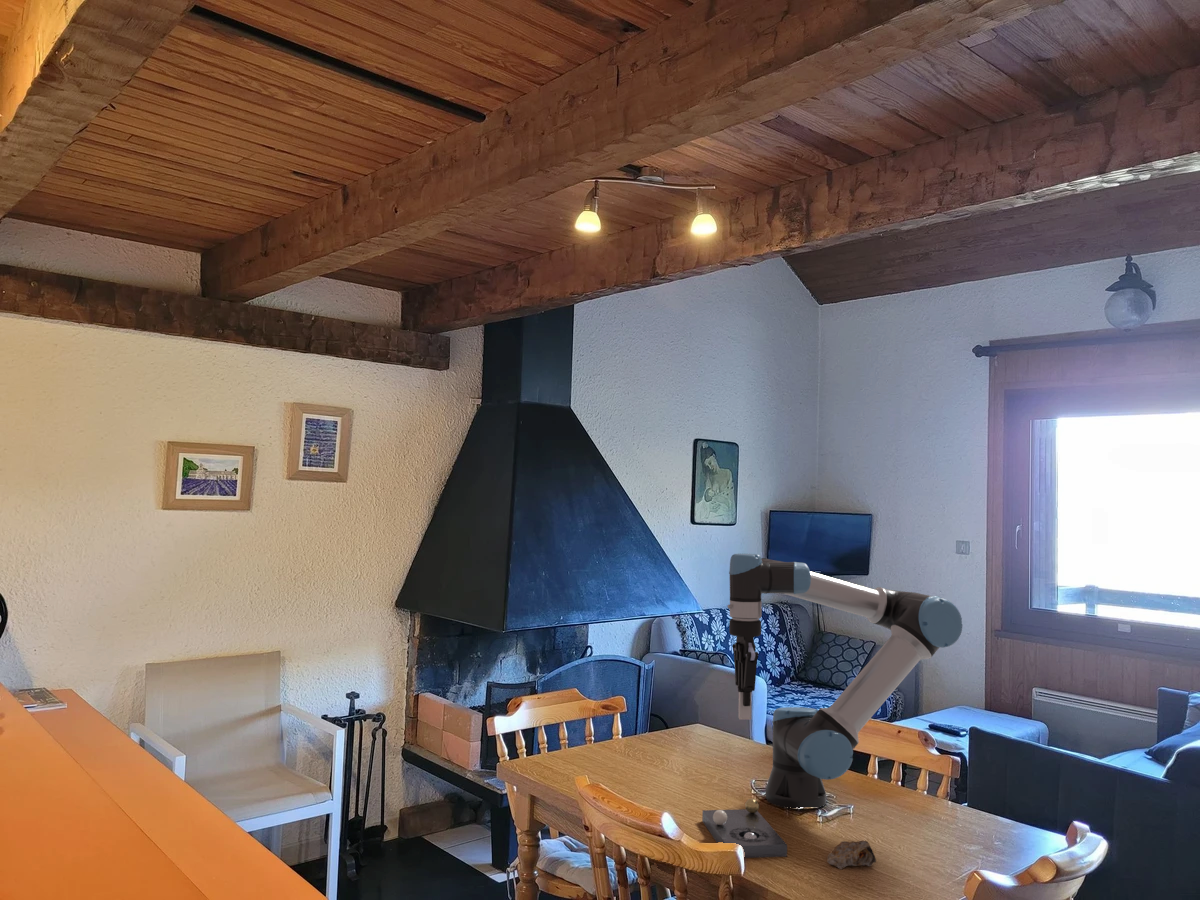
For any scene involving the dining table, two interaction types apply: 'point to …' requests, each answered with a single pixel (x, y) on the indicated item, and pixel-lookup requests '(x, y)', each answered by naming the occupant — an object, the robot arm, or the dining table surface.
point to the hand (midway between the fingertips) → (744, 718)
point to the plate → (742, 823)
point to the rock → (851, 854)
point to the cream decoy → (720, 817)
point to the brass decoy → (752, 806)
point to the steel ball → (750, 835)
